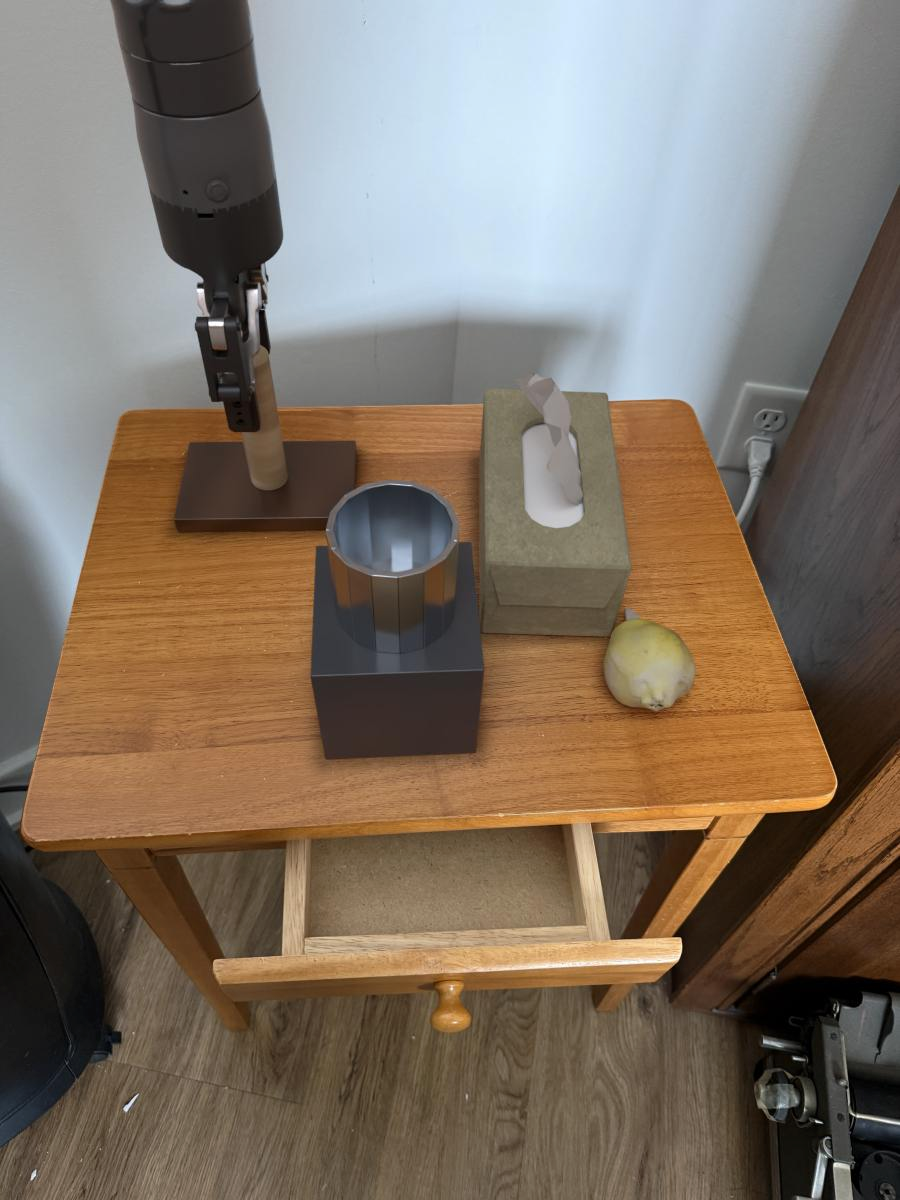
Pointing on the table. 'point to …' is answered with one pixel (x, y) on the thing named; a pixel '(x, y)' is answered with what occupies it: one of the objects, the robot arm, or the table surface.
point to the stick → (265, 432)
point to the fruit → (647, 664)
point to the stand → (397, 680)
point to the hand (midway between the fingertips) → (251, 390)
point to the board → (232, 503)
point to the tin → (393, 564)
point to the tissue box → (550, 513)
